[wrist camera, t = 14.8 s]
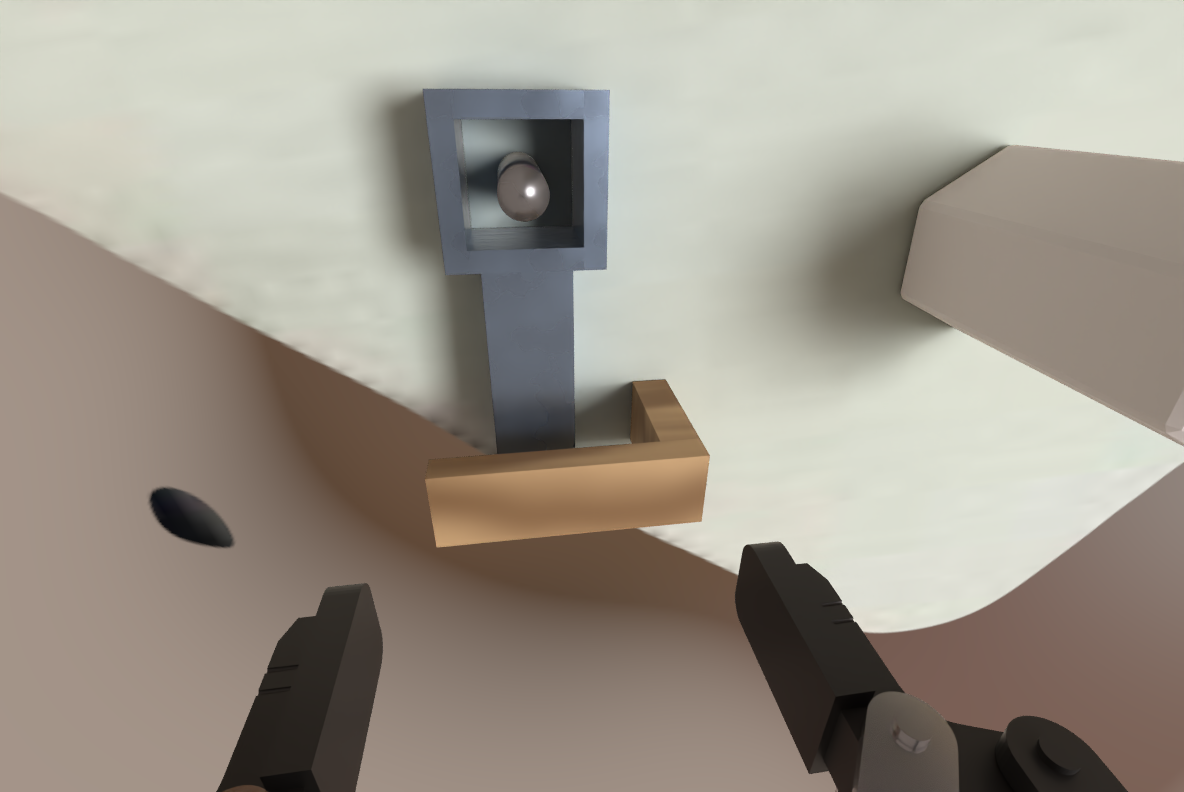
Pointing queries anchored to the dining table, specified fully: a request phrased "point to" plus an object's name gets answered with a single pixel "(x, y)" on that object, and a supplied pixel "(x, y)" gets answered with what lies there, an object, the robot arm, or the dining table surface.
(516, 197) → the cylinder
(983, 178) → the soap bottle
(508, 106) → the link
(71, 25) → the dining table surface
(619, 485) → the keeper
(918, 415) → the dining table surface
